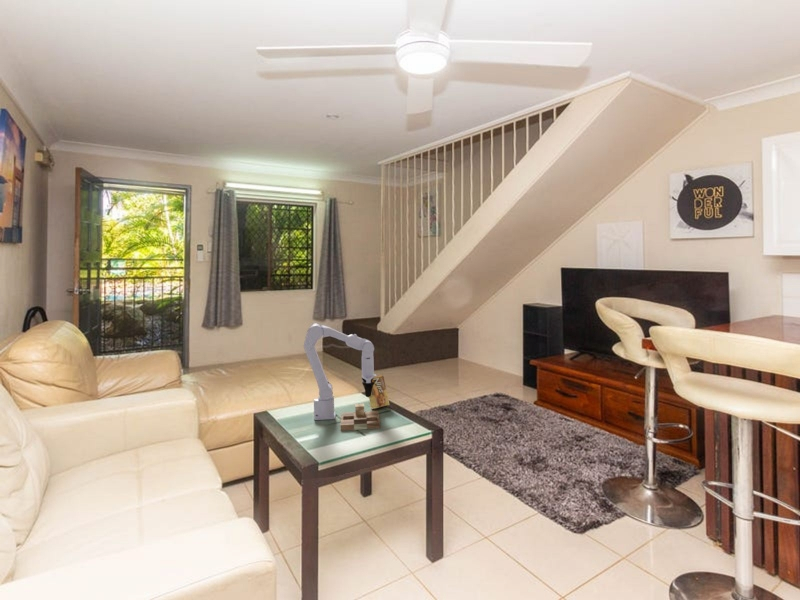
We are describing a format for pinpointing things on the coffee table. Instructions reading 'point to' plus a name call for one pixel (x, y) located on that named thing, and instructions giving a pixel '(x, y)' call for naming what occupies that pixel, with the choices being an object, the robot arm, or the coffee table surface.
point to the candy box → (378, 393)
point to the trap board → (360, 420)
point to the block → (359, 409)
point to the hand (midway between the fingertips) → (368, 394)
